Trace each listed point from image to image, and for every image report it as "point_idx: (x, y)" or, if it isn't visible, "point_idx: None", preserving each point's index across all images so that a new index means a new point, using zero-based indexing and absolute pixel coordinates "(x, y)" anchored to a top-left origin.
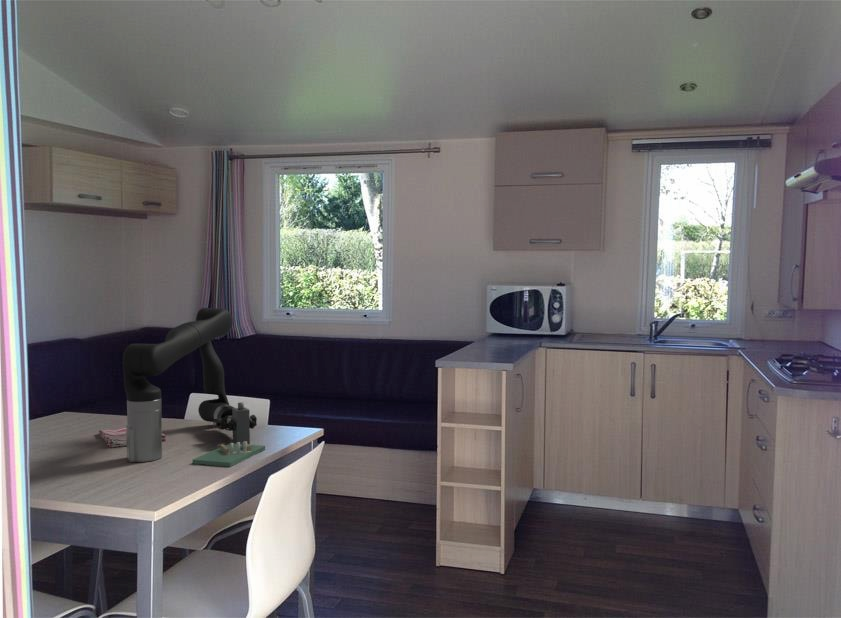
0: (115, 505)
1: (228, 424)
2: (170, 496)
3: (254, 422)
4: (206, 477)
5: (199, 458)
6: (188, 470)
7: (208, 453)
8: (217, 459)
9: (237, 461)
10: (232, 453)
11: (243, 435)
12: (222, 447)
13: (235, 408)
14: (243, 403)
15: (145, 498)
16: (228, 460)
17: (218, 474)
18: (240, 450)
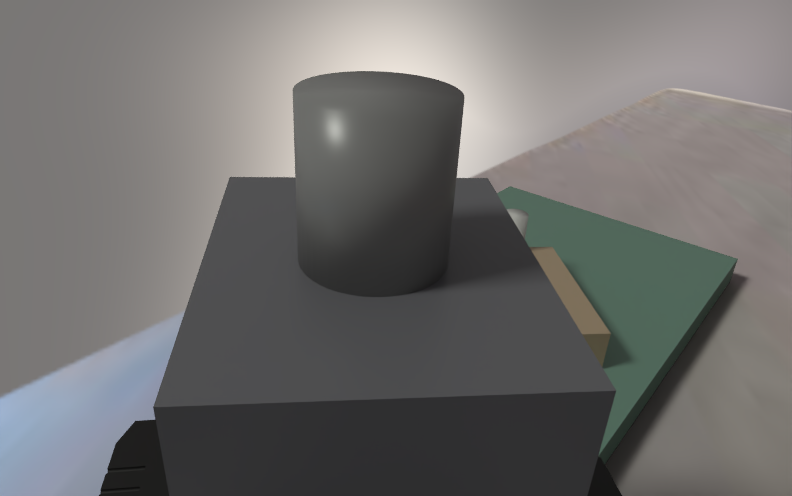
0: (789, 114)
1: (605, 472)
2: (665, 114)
3: (134, 429)
4: (595, 163)
5: (699, 261)
6: (704, 222)
7: (675, 319)
8: (582, 227)
9: None
10: None
11: None
12: (581, 298)
13: (511, 366)
14: (313, 90)
15: (732, 120)
16: (520, 204)
17: (553, 169)
18: None
